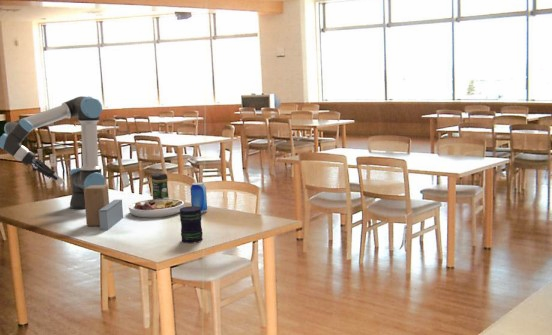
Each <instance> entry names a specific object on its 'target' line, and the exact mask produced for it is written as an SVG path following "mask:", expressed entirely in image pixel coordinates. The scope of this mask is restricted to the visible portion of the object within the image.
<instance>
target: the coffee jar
mask: <svg viewBox="0 0 552 335" xmlns="http://www.w3.org/2000/svg"><path fill="white" fill-rule="evenodd" d="M168 178H169V177H168V175H167V173H163V172H153V173H152V174H151V184H152V199H170V198H169V187H168V180H169V179H168Z"/></svg>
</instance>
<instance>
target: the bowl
mask: <svg viewBox="0 0 552 335" xmlns="http://www.w3.org/2000/svg"><path fill="white" fill-rule="evenodd" d="M183 207H185V205H184V201H183V200H181V199H174V198H169V199H153V198H152V199H146V200H141V201H140V200H139V201H136V202H134V203H131V204H129V205H128V210H129V212H130V214H131V215H133V216H134V217H137V218H138V217H139V218H145V219H146V218H147V219H149V218H151V219H154V218H164V217H170V216H174V215H176V214H180V208H183Z"/></svg>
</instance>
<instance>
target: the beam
mask: <svg viewBox="0 0 552 335" xmlns="http://www.w3.org/2000/svg"><path fill="white" fill-rule="evenodd" d="M99 219H100V226H99V230H100V231H109V230H110V229H112V228H113V227H114V226H115V225H117V224H118V223H119V222H120V221H121V220H122V219H124V210H123V199H113V200H112V201H111V202H110V201H109V204H107V205H106V206H104V207H103V208H102V209H100V210H99Z"/></svg>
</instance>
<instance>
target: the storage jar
mask: <svg viewBox="0 0 552 335" xmlns="http://www.w3.org/2000/svg"><path fill="white" fill-rule="evenodd" d="M179 220H180V237H181V242H182V243H185V244H195V243H194V242H196V243H199V241H200V242H202V241H203V228H202V213H201V207H197V206H192V205H191V206H184V207H183V208H180V212H179Z"/></svg>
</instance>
